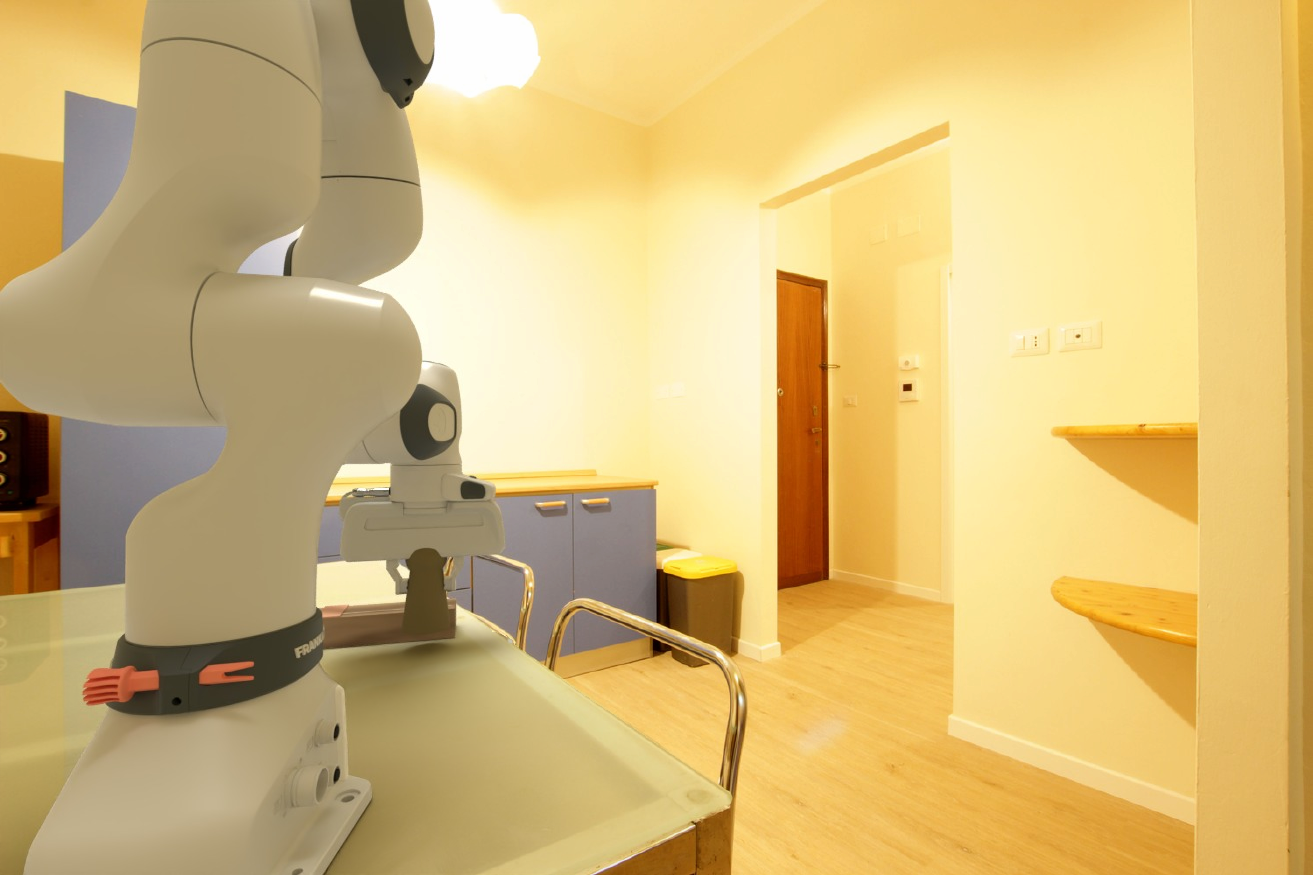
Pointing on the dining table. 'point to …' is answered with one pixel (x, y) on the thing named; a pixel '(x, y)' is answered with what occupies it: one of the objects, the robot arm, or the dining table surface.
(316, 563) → the robot arm
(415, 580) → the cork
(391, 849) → the dining table surface
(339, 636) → the walnut plank
